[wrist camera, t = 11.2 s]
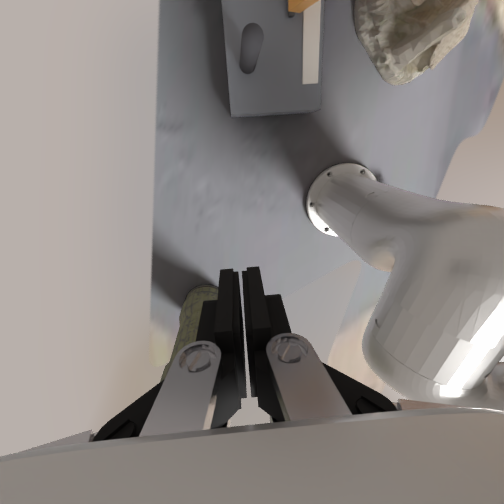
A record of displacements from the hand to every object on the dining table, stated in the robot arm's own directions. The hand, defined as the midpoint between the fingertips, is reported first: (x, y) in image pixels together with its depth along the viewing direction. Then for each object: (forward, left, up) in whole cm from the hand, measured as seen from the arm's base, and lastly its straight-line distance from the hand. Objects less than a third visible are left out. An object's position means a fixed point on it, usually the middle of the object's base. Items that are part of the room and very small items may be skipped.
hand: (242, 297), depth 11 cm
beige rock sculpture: (-26, -21, -36) cm, 49 cm away
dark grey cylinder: (-3, -14, -30) cm, 33 cm away
